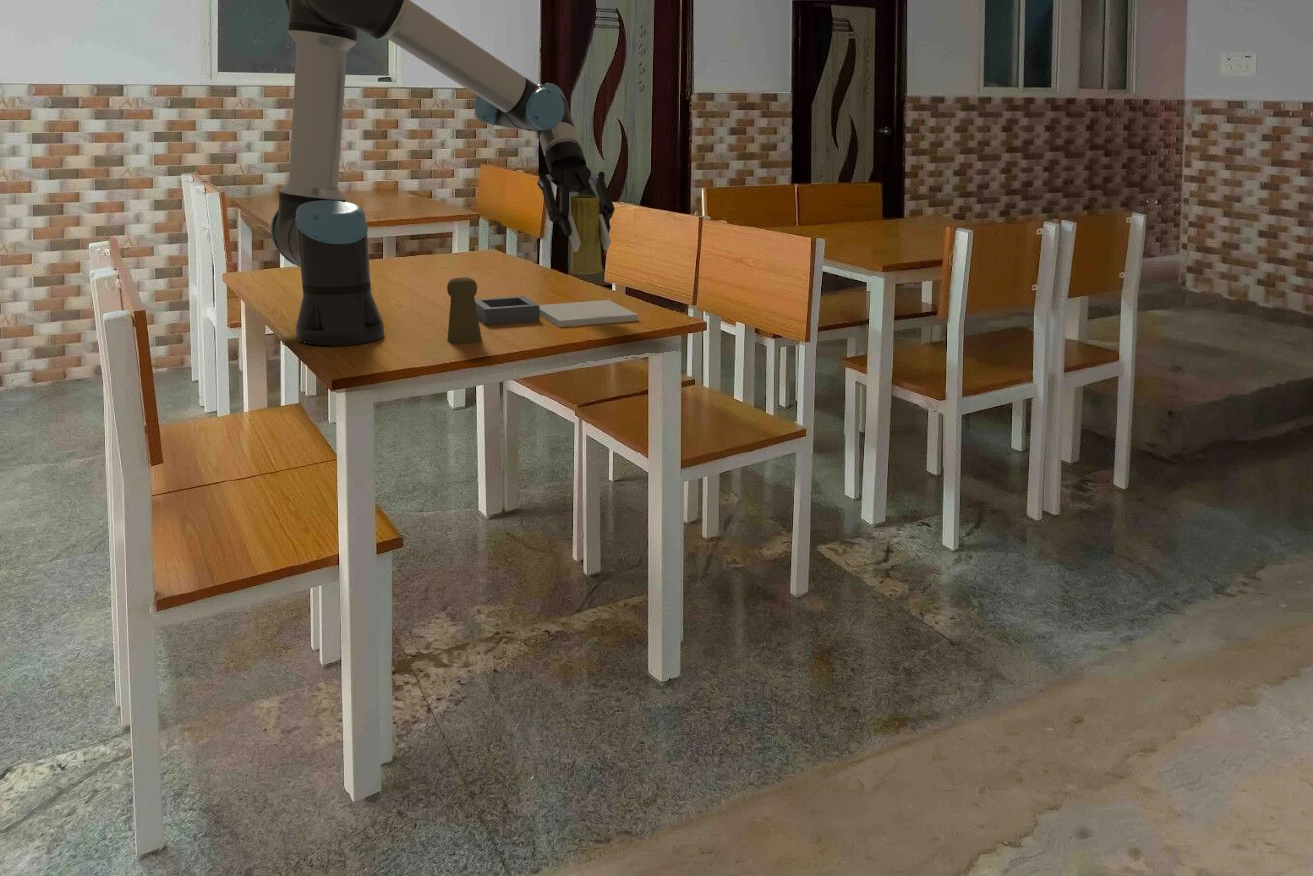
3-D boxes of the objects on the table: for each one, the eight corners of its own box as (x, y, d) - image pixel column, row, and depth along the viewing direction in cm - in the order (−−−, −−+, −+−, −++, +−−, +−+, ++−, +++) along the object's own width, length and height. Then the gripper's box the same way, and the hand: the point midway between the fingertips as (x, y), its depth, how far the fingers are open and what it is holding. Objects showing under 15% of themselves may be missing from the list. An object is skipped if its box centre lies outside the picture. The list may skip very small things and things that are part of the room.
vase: (565, 272, 214) (563, 197, 209) (579, 267, 219) (577, 194, 215) (594, 274, 212) (592, 198, 207) (607, 269, 217) (606, 195, 213)
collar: (485, 325, 209) (485, 309, 208) (472, 314, 218) (471, 299, 217) (539, 320, 213) (539, 305, 212) (523, 310, 222) (523, 295, 221)
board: (559, 326, 208) (559, 320, 207) (534, 311, 222) (533, 305, 221) (638, 320, 214) (638, 314, 213) (608, 305, 228) (608, 299, 227)
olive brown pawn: (466, 334, 201) (463, 274, 198) (488, 339, 198) (486, 277, 194) (440, 340, 197) (436, 278, 193) (463, 345, 193) (460, 282, 190)
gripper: (601, 163, 226) (632, 255, 217) (514, 166, 219) (542, 261, 210) (610, 138, 220) (642, 231, 211) (521, 139, 213) (550, 236, 204)
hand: (592, 246), depth 210 cm, fingers closed on vase, 5 cm apart
